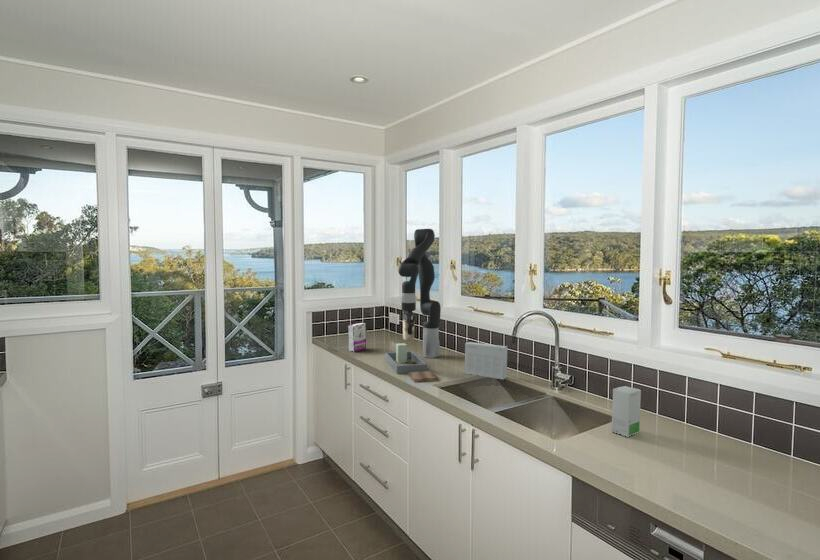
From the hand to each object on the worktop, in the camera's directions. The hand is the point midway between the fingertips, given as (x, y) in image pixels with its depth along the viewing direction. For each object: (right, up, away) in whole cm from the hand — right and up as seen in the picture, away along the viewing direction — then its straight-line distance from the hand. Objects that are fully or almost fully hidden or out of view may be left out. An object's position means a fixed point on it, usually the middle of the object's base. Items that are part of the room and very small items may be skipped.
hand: (408, 333), depth 241 cm
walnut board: (+7, -20, -15) cm, 26 cm away
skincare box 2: (+77, -26, -80) cm, 114 cm away
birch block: (0, -3, 0) cm, 3 cm away
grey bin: (-2, -18, +8) cm, 20 cm away
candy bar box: (-32, -16, +44) cm, 56 cm away
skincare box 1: (+39, -20, -10) cm, 45 cm away
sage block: (-4, -18, +16) cm, 24 cm away
